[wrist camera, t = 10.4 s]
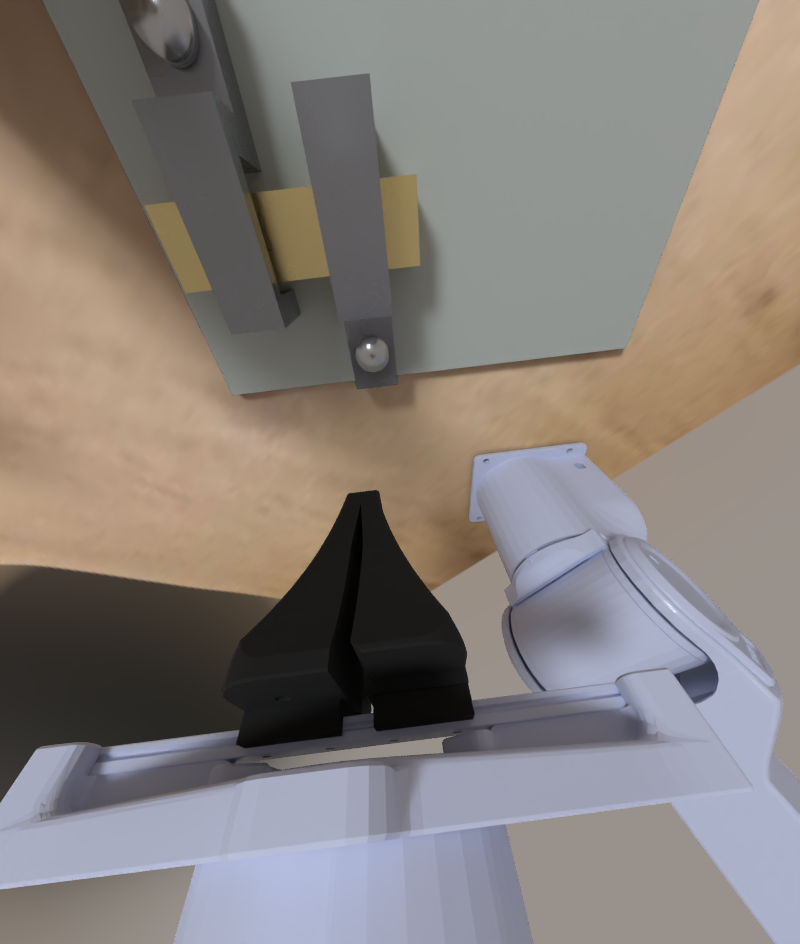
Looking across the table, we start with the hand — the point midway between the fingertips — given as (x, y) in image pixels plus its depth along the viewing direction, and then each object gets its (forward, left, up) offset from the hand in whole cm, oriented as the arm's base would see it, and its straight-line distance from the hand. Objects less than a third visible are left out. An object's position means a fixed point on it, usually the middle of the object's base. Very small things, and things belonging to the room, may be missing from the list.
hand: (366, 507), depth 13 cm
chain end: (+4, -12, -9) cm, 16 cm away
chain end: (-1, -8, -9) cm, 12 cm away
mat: (-5, -10, -10) cm, 15 cm away
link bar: (+2, -10, -9) cm, 14 cm away
